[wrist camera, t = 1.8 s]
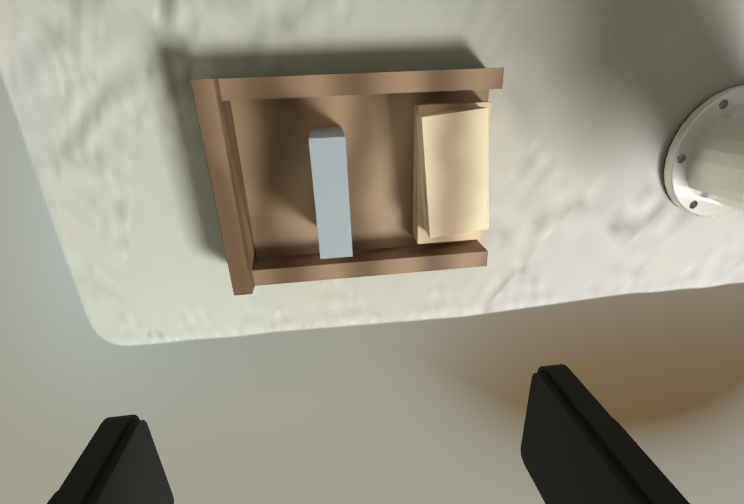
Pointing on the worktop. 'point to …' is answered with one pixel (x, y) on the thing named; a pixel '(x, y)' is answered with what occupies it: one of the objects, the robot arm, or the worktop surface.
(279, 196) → the brown wooden tray
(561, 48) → the worktop surface
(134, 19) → the worktop surface
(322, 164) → the blue-grey rectangular block
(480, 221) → the offcut stack
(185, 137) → the worktop surface
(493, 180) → the worktop surface
